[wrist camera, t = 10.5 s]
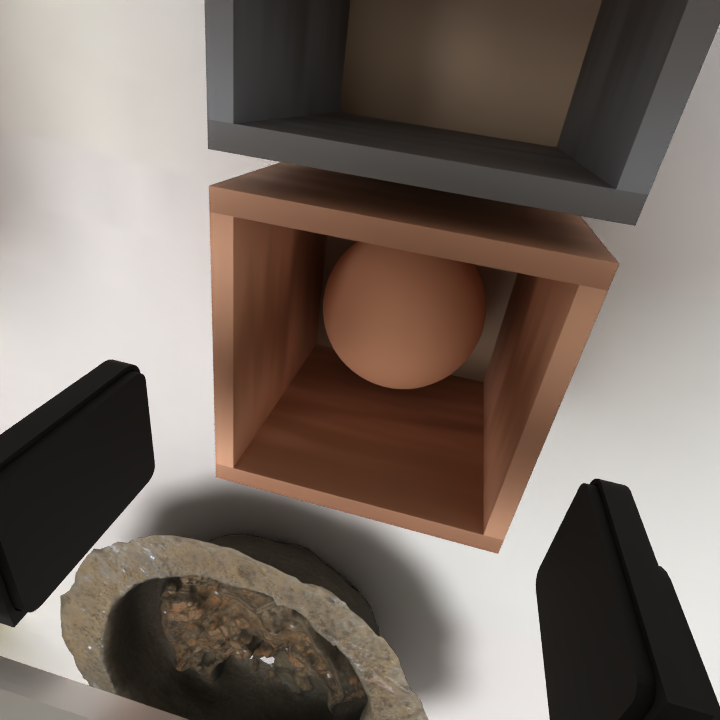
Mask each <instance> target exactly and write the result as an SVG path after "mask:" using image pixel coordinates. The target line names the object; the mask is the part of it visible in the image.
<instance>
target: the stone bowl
mask: <svg viewBox="0 0 720 720" xmlns="http://www.w3.org/2000/svg"><path fill="white" fill-rule="evenodd" d="M61 628H62V637H63V639H64V641H65V644H66V646H67V648H68V649H69V651H70V652H71V653H72V655H73V656H74V660H75V663H76V666H77V668H78V670H79V671H80V672H81V674H82V675H83V678H84V679H86V680H87V681H88V683H89V686H91V687H94V688H97V689H100V690H103V691H106V692H109V693H112V694H115V695H118V696H121V697H124V698H127V699H130V700H133V701H136V702H139V703H141V704H144V705H147V706H150V707H153V708H156V709H159V710H162V711H165V712H168V713H171V714H174V715H177V716H180V717H183V718H186V719H188V720H428V718H427V716H426V714H425V712H424V709H423V706H422V703H421V701H420V699H419V698H418V697H417V695H416V693H414V692H413V691H412V690H411V688H410V687H409V685H408V683H407V681H406V678H405V675H404V672H403V670H402V668H401V667H400V661H399V659H398V657H397V655H396V654H395V653H394V651H393V650H392V649H391V648H390V646H389V645H388V643H387V642H386V641H385V640H384V638H382V637H380V635H379V628H378V626H377V623H376V621H375V617H374V615H373V612H372V611H371V609H370V606H369V604H368V602H367V601H366V599H365V598H364V597H363V596H362V595H361V594H360V592H359V591H358V590H355V589H353V588H352V587H351V586H350V585H349V584H348V583H347V582H346V581H345V580H344V579H343V578H342V577H341V576H340V575H339V574H338V573H336V572H335V571H334V570H332V569H331V568H329V567H328V566H327V565H325V564H324V563H323V562H322V561H321V560H320V559H319V558H318V557H317V556H316V555H315V554H313V553H312V552H311V551H310V550H309V549H307V548H305V547H302V546H300V545H295V544H282V543H276V542H274V541H271V540H268V539H265V538H260V537H256V536H251V535H242V534H235V535H226V536H224V537H220V538H217V539H215V540H212V541H209V542H204V541H200V540H196V539H190V538H185V537H180V536H174V535H150V536H147V537H144V538H142V537H140V538H138V541H134V540H132V541H130V542H129V543H124V542H116V543H114V544H112V545H111V546H107V547H105V548H103V549H93V551H92V552H91V553H90V554H89V555H87V557H86V558H85V560H84V561H83V562H82V564H81V565H80V567H79V569H78V571H77V572H76V576H75V583H74V584H73V585H72V587H71V589H70V591H68V592H67V593H65V594H63V595H61ZM252 655H253V658H252V659H250V657H251V656H252ZM263 656H265V657H266V658H269V657H274V658H275V661H274V663H272V664H267V663H265V662H263V661H262V660H261V659H260V658H261V657H263Z"/></svg>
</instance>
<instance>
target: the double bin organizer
mask: <svg viewBox="0 0 720 720" xmlns="http://www.w3.org/2000/svg"><path fill="white" fill-rule="evenodd" d="M719 24H720V0H205V38H206V79H207V121H208V149H212V150H217V151H223V152H228V153H234V154H240V155H245V156H251V157H256V158H262V159H267V160H273V161H279V162H280V163H277V164H274V165H271V166H268V167H265V168H262V169H259V170H256V171H253V172H250V173H247V174H244V175H241V176H238V177H235V178H232V179H229V180H225V181H222V182H219V183H216V184H213V185H210V186H209V204H210V246H211V288H212V329H213V371H214V413H215V455H216V477H217V478H221V479H225V480H228V481H232V482H236V483H239V484H243V485H247V486H250V487H254V488H258V489H261V490H265V491H269V492H273V493H276V494H280V495H284V496H287V497H291V498H295V499H298V500H302V501H306V502H309V503H313V504H317V505H320V506H324V507H328V508H332V509H335V510H339V511H343V512H346V513H350V514H354V515H357V516H361V517H365V518H368V519H372V520H376V521H379V522H383V523H387V524H391V525H394V526H398V527H402V528H405V529H409V530H413V531H416V532H420V533H424V534H427V535H431V536H435V537H438V538H442V539H446V540H450V541H453V542H457V543H461V544H464V545H468V546H472V547H475V548H479V549H483V550H486V551H490V552H494V553H499V550H500V548H501V545H502V543H503V541H504V538H505V536H506V533H507V531H508V529H509V526H510V524H511V521H512V519H513V517H514V514H515V512H516V510H517V507H518V505H519V502H520V500H521V498H522V495H523V493H524V490H525V488H526V486H527V483H528V481H529V478H530V476H531V474H532V471H533V469H534V466H535V464H536V462H537V459H538V457H539V455H540V452H541V450H542V447H543V445H544V443H545V440H546V438H547V435H548V433H549V431H550V428H551V426H552V423H553V421H554V419H555V416H556V414H557V411H558V409H559V407H560V404H561V402H562V399H563V397H564V395H565V392H566V390H567V388H568V385H569V383H570V380H571V378H572V376H573V373H574V371H575V368H576V366H577V364H578V361H579V359H580V356H581V354H582V352H583V349H584V347H585V344H586V342H587V340H588V337H589V335H590V333H591V330H592V328H593V325H594V323H595V321H596V318H597V316H598V313H599V311H600V309H601V306H602V304H603V301H604V299H605V297H606V294H607V292H608V289H609V287H610V285H611V282H612V280H613V278H614V275H615V273H616V270H617V268H618V266H619V263H618V262H617V261H616V259H615V258H614V257H613V256H612V254H611V253H610V252H609V251H608V249H607V248H606V247H605V246H604V245H603V243H602V242H601V241H600V240H599V238H598V237H597V236H596V235H595V233H594V232H593V231H592V230H591V228H590V227H589V226H588V225H587V224H586V222H585V221H584V220H583V219H582V217H581V216H584V217H590V218H595V219H601V220H606V221H612V222H617V223H623V224H629V225H634V226H635V225H636V222H637V220H638V218H639V215H640V213H641V211H642V208H643V206H644V203H645V201H646V199H647V196H648V194H649V191H650V189H651V187H652V184H653V182H654V179H655V177H656V175H657V172H658V170H659V167H660V165H661V163H662V160H663V158H664V156H665V153H666V151H667V148H668V146H669V144H670V141H671V139H672V136H673V134H674V132H675V129H676V127H677V124H678V122H679V120H680V117H681V115H682V112H683V110H684V108H685V105H686V103H687V100H688V98H689V96H690V93H691V91H692V89H693V86H694V84H695V81H696V79H697V77H698V74H699V72H700V69H701V67H702V65H703V62H704V60H705V57H706V55H707V53H708V50H709V48H710V45H711V43H712V41H713V38H714V36H715V34H716V31H717V29H718V26H719ZM357 241H359V242H364V243H369V244H374V245H379V246H384V247H390V248H395V249H400V250H405V251H410V252H415V253H420V254H425V255H430V256H435V257H440V258H445V259H450V260H455V261H460V262H465V263H471V264H474V265H475V267H476V268H477V270H478V272H479V274H480V277H481V280H482V282H483V287H484V291H485V296H486V317H485V322H484V327H483V331H482V334H481V336H480V339H479V341H478V343H477V345H476V347H475V348H474V350H473V352H472V353H471V355H470V356H469V357H468V359H467V360H466V361H465V362H464V363H463V364H462V365H461V366H460V367H459V368H458V369H457V370H456V371H454V372H453V373H452V374H451V375H449V376H447V377H446V378H444V379H442V380H440V381H438V382H436V383H433V384H431V385H428V386H424V387H420V388H414V389H394V388H388V387H384V386H380V385H377V384H374V383H372V382H370V381H367V380H366V379H364V378H362V377H360V376H359V375H357V374H356V373H355V372H353V371H352V370H351V369H350V368H349V367H348V366H346V364H345V363H344V362H343V361H342V360H341V359H340V357H339V356H338V355H337V353H336V352H335V350H334V348H333V346H332V344H331V342H330V340H329V338H328V335H327V332H326V328H325V324H324V316H323V299H324V293H325V288H326V284H327V281H328V278H329V276H330V274H331V272H332V270H333V268H334V266H335V265H336V263H337V262H338V260H339V259H340V257H341V256H342V255H343V254H344V253H345V252H346V250H347V249H349V248H350V247H351V246H352V245H353V244H355V243H356V242H357Z"/></svg>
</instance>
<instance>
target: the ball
mask: <svg viewBox="0 0 720 720" xmlns="http://www.w3.org/2000/svg"><path fill="white" fill-rule="evenodd" d="M323 316H324V324H325V328H326V332H327V335H328V338H329V340H330V342H331V344H332V346H333V348H334V350H335V352H336V353H337V355H338V356H339V357H340V359H341V360H342V361H343V362H344V363H345V364H346V366H348V367H349V368H350V369H351V370H352V371H353V372H355V373H356V374H357V375H359V376H360V377H362V378H364V379H366V380H367V381H370V382H372V383H374V384H377V385H380V386H384V387H388V388H394V389H414V388H420V387H424V386H428V385H431V384H433V383H436V382H438V381H440V380H442V379H444V378H446V377H447V376H449V375H451V374H452V373H453V372H454V371H456V370H457V369H458V368H459V367H460V366H461V365H462V364H463V363H464V362H465V361H466V360H467V359H468V357H469V356H470V355H471V353H472V352H473V350H474V348H475V347H476V345H477V343H478V341H479V339H480V336H481V334H482V331H483V327H484V322H485V317H486V296H485V291H484V287H483V282H482V280H481V277H480V274H479V272H478V270H477V268H476V267H475V265H474V264H471V263H465V262H460V261H455V260H450V259H445V258H440V257H435V256H430V255H425V254H420V253H415V252H410V251H405V250H400V249H395V248H390V247H384V246H379V245H374V244H369V243H364V242H359V241H357V242H356V243H355V244H353V245H352V246H351V247H350V248H349V249H347V250H346V252H345V253H344V254H343V255H342V256H341V257H340V259H339V260H338V262H337V263H336V265H335V266H334V268H333V270H332V272H331V274H330V276H329V278H328V281H327V284H326V288H325V293H324V299H323Z"/></svg>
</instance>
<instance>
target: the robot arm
mask: <svg viewBox="0 0 720 720" xmlns="http://www.w3.org/2000/svg"><path fill="white" fill-rule="evenodd" d="M154 468H155V461H154V452H153V443H152V434H151V424H150V415H149V406H148V397H147V388H146V379H145V376H144V375H143V374H141V373H140V370H139V368H138V367H137V366H135V365H132V364H128V363H124V362H120V361H116V360H107V361H105V362H103V363H102V364H100V365H99V366H98V367H96V368H95V369H93V370H92V371H90V372H89V373H88V374H86V375H85V376H83V377H82V378H80V379H79V380H78V381H76V382H75V383H73V384H72V385H70V386H69V387H68V388H66V389H65V390H63V391H62V392H60V393H59V394H58V395H56V396H55V397H53V398H52V399H50V400H49V401H48V402H46V403H45V404H43V405H42V406H40V407H39V408H38V409H36V410H35V411H33V412H32V413H31V414H29V415H28V416H26V417H25V418H23V419H22V420H21V421H19V422H18V423H16V424H15V425H13V426H12V427H11V428H9V429H8V430H6V431H5V432H3V433H2V434H1V435H0V623H2V624H5V625H8V626H11V627H15V626H16V625H17V624H18V623H19V621H20V620H21V619H22V618H23V617H24V616H25V615H26V613H27V612H33V611H35V610H36V609H38V608H39V607H40V606H41V605H42V604H43V603H44V602H45V601H46V599H47V598H48V597H49V596H50V595H51V594H52V592H53V591H54V590H55V589H56V588H57V587H58V586H59V584H60V583H61V582H62V581H63V580H64V579H65V577H66V576H67V575H68V574H69V573H70V572H71V571H72V569H73V568H74V567H75V566H76V565H77V564H78V562H79V561H80V560H81V559H82V558H83V557H84V556H85V554H86V553H87V552H88V551H89V550H90V549H91V548H92V546H93V545H94V544H95V543H96V542H97V541H98V539H99V538H100V537H101V536H102V535H103V534H104V533H105V531H106V530H107V529H108V528H109V527H110V526H111V524H112V523H113V522H114V521H115V520H116V519H117V518H118V516H119V515H120V514H121V513H122V512H123V511H124V509H125V508H126V507H127V506H128V505H129V504H130V503H131V501H132V500H133V499H134V498H135V497H136V496H137V494H138V493H139V492H140V491H141V490H142V489H143V488H144V486H145V485H146V484H147V483H148V482H149V480H150V479H151V477H152V475H153V472H154ZM536 594H537V604H538V613H539V622H540V632H541V641H542V651H543V660H544V669H545V679H546V688H547V697H548V707H549V716H550V720H720V706H719V703H718V701H717V698H716V695H715V693H714V690H713V688H712V685H711V682H710V680H709V677H708V675H707V672H706V670H705V667H704V664H703V662H702V659H701V657H700V654H699V651H698V649H697V646H696V644H695V641H694V639H693V636H692V633H691V631H690V628H689V626H688V623H687V620H686V618H685V615H684V613H683V610H682V608H681V605H680V602H679V600H678V597H677V595H676V592H675V590H674V587H673V584H672V582H671V579H670V578H669V576H668V574H667V572H666V571H665V570H664V569H663V568H662V567H661V566H658V563H657V560H656V558H655V555H654V552H653V550H652V547H651V544H650V542H649V539H648V536H647V534H646V531H645V528H644V526H643V523H642V520H641V518H640V515H639V512H638V509H637V507H636V504H635V501H634V499H633V496H632V493H631V491H630V489H629V488H628V487H627V486H625V485H621V484H617V483H613V482H609V481H605V480H601V479H594V480H593V481H592V482H591V483H590V484H586V483H583V484H581V486H580V487H579V489H578V491H577V493H576V495H575V497H574V499H573V501H572V503H571V505H570V507H569V509H568V511H567V513H566V515H565V517H564V519H563V521H562V523H561V525H560V527H559V529H558V531H557V533H556V535H555V537H554V539H553V541H552V544H551V546H550V548H549V550H548V552H547V554H546V556H545V558H544V560H543V562H542V564H541V566H540V568H539V570H538V573H537V578H536ZM0 720H188V719H186V718H183V717H180V716H177V715H174V714H171V713H168V712H165V711H162V710H159V709H156V708H153V707H150V706H147V705H144V704H141V703H139V702H136V701H133V700H130V699H127V698H124V697H121V696H118V695H115V694H112V693H109V692H106V691H103V690H100V689H97V688H94V687H91V686H88V685H85V684H82V683H79V682H76V681H73V680H70V679H67V678H64V677H61V676H58V675H55V674H52V673H49V672H46V671H43V670H40V669H37V668H34V667H31V666H28V665H25V664H22V663H19V662H16V661H14V660H11V659H8V658H5V657H2V656H0Z"/></svg>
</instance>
